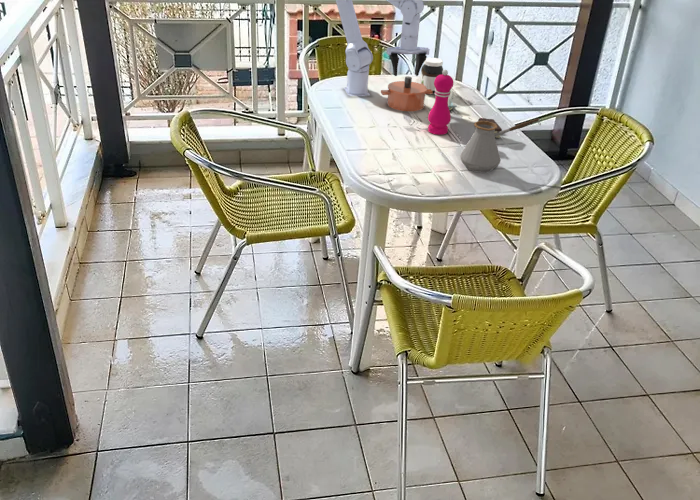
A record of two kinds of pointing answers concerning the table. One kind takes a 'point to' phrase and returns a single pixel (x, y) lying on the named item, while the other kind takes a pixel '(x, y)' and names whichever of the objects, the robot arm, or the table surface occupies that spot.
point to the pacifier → (451, 101)
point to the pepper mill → (441, 105)
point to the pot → (405, 100)
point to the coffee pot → (485, 146)
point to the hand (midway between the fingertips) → (405, 75)
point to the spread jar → (431, 72)
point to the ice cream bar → (494, 123)
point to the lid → (407, 87)
